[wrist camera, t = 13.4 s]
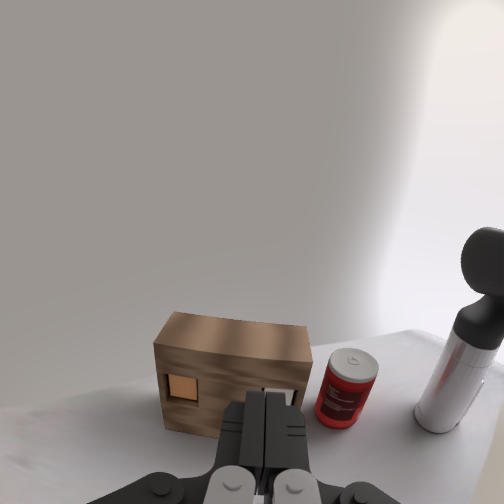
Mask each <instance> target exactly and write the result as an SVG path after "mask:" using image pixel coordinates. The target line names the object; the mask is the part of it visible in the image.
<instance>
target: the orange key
mask: <svg viewBox="0 0 504 504" xmlns="http://www.w3.org/2000/svg"><path fill="white" fill-rule="evenodd" d="M169 384H170V393H171V396H176V397H181V398H187V399H192V400H197V399H198V379H193V378H187V377H182V376H176V375H171V374H169Z"/></svg>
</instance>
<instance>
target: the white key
mask: <svg viewBox="0 0 504 504" xmlns="http://www.w3.org/2000/svg"><path fill="white" fill-rule="evenodd" d="M262 391H265V395H266V391H267V392H283V393H285V396H286V405H288V406H290V405H291V401H292V397H293V393H294V390H288V389H274V388H263V389H262Z"/></svg>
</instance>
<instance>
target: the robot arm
mask: <svg viewBox="0 0 504 504" xmlns="http://www.w3.org/2000/svg"><path fill="white" fill-rule="evenodd" d="M461 268H462V273H463V275H464V278H465V280H466V282H467V283H468V285H469V286H470V287H471V288H472V289H473V290H474V291H476V292H478V293H481V294H485V295H484V296H483V297H482V298H481V299H480V300H479V301H477V302H475V303H473V304H471V305H468V306H466V307H464V308H462V309H461V310H460V311H459V312H458V314H457V317H456V319H455V322H454V325H453V327H452V330H451V332H450V335H449V338H448V340H447V343H446V345H445V348H444V350H443V352H442V355H441V357H440V359H439V361H438V364H437V366H436V368H435V370H434V372H433V374H432V377H431V379H430V381H429V383H428V385H427V387H426V389H425V391H424V392H423V394H422V396H421V398H420V400H419V402H418V404H417V406H416V408H415V411H414V412H415V417H416V420H417V421H418V423H419V424H420V425H421V426H422V427H424V428H425V429H427V430H429V431H431V432H434V433H445V432H448V431H450V430H452V429H453V428H454V426H455V425H456V424H457V423H460V422H461V420H462V419H463V417H464V416H465V414H466V413H467V411H468V410H469V408H470V406H471V405H472V403H473V401H474V400H475V398H476V396H477V395H478V393H479V391H480V390H481V388H482V386H483V384H484V381H483V379H484V378H485V376H486V374H487V372H488V370H489V368H490V366H491V364H492V362H493V360H494V358H495V356H496V353H497V351H498V349H499V347H500V345H501V342H502V340H503V338H504V230H501V229H497V228H492V227H483V228H481V229H478V230H477V231H475V232H474V233H473V234H472V235H471V236H470V237H469V238H468V240H467V241H466V243H465V245H464V247H463V250H462V254H461ZM257 488H258V495H264V504H400V503H399V502H397V501H396V500H394V499H393V498H391V497H390V496H388V495H387V494H385V493H384V492H383V491H381V490H380V489H378V488H377V487H375V486H374V485H372V484H370V483H367V482H355V483H352V484H350V485H348V486H346V487H345V488H342V487H337V486H332V485H327V484H324V483H322V482H320V481H318V480H317V479H316V478H315V477H314V476H313V475H312V473H311V471H310V468H309V459H308V449H307V440H306V430H305V421H304V415H303V413H302V412H301V410H300V409H299V407H298V406H288V405H286V396H285V393H283V392H267V391H266V395H265V391H255V390H246V398H245V402H235V401H231V402H230V403H229V405H228V406H227V407H226V408H225V410H224V414H223V420H222V425H221V431H220V437H219V442H218V448H217V454H216V459H215V463H214V466H213V467H212V469H211V470H210V471H209V472H208V473H206V474H204V475H202V476H199V477H194V478H182V479H178V478H177V477H175V476H173V475H171V474H169V473H164V472H155V473H151V474H149V475H147V476H145V477H143V478H141V479H139V480H137V481H135V482H133V483H131V484H129V485H127V486H125V487H123V488H121V489H119V490H117V491H115V492H112V493H110V494H108V495H106V496H103V497H101V498H99V499H97V500H94V501H92V502H89V503H87V504H252V503H253V497H254V495H256V492H257Z"/></svg>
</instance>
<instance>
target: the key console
mask: <svg viewBox="0 0 504 504" xmlns="http://www.w3.org/2000/svg"><path fill="white" fill-rule="evenodd" d="M153 344H154V354H155V362H156V371H157V379H158V386H159V393H160V400H161V406H162V412H163V418H164V424H165V429H170V430H174V431H179V432H184V433H189V434H194V435H200V436H206V437H212V438H219V437H220V431H221V425H222V420H223V414H224V410H225V408H226V407H227V406H228V405H229V403H230V402H231V401H235V402H245V398H246V390H255V391H262V389H263V388H274V389H288V390H294V393H293V397H292V401H291V405H290V406H298V407H299V409H301V405H302V402H303V398H304V395H305V391H306V387H307V383H308V380H309V376H310V372H311V368H312V364H313V360H312V354H311V349H310V343H309V338H308V333H307V328H306V326H293V325H281V324H271V323H261V322H251V321H242V320H233V319H225V318H217V317H209V316H202V315H194V314H188V313H181V312H173V314H172V315H171V316H170V318H169V320H168V321H167V322H166V324H165V325H164V327H163V329H162V330H161V332H160V333H159V335H158V336H157V338H156V340H155V341H154V342H153ZM169 374H171V375H176V376H182V377H187V378H193V379H198V399H197V400H192V399H187V398H181V397H176V396H171V393H170V384H169Z"/></svg>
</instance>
